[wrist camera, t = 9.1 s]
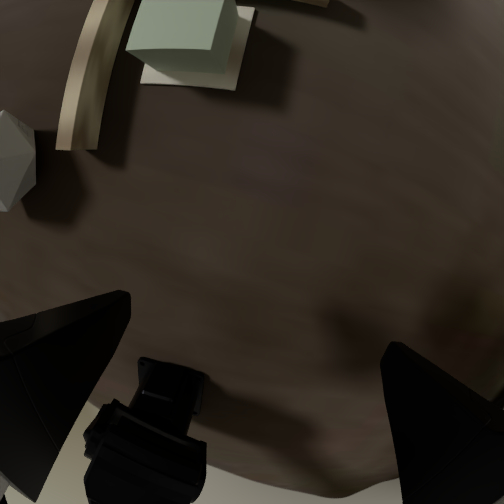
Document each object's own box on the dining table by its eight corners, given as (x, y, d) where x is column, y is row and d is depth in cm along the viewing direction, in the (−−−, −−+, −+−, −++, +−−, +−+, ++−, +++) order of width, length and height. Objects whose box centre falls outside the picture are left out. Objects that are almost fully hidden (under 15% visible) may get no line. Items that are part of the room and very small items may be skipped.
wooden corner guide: (293, 178, 19) (299, 182, 16) (82, 148, 19) (55, 149, 15) (328, -6, 14) (337, -29, 11) (126, -15, 14) (108, -32, 10)
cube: (238, 16, 15) (230, -20, 10) (224, 74, 17) (210, 49, 12) (172, 14, 15) (148, -16, 10) (156, 70, 16) (125, 50, 12)
